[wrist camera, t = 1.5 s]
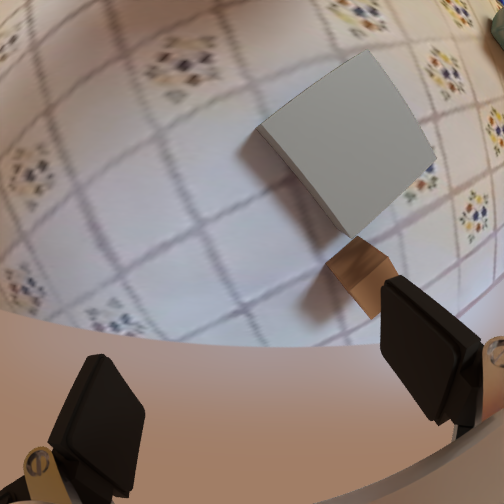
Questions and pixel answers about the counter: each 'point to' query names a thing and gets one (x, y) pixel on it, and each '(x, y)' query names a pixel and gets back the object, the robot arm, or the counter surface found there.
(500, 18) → the flower pot
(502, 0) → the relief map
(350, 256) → the walnut block
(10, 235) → the counter surface
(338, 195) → the pedestal
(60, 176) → the counter surface
